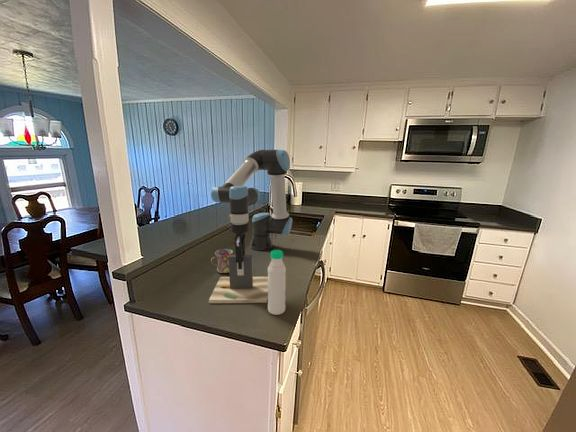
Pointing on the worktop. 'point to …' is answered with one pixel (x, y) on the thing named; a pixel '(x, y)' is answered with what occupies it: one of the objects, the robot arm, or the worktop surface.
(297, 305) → the worktop surface
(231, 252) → the mug
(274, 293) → the water bottle
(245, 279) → the gray square slab
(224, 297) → the beige flat board
